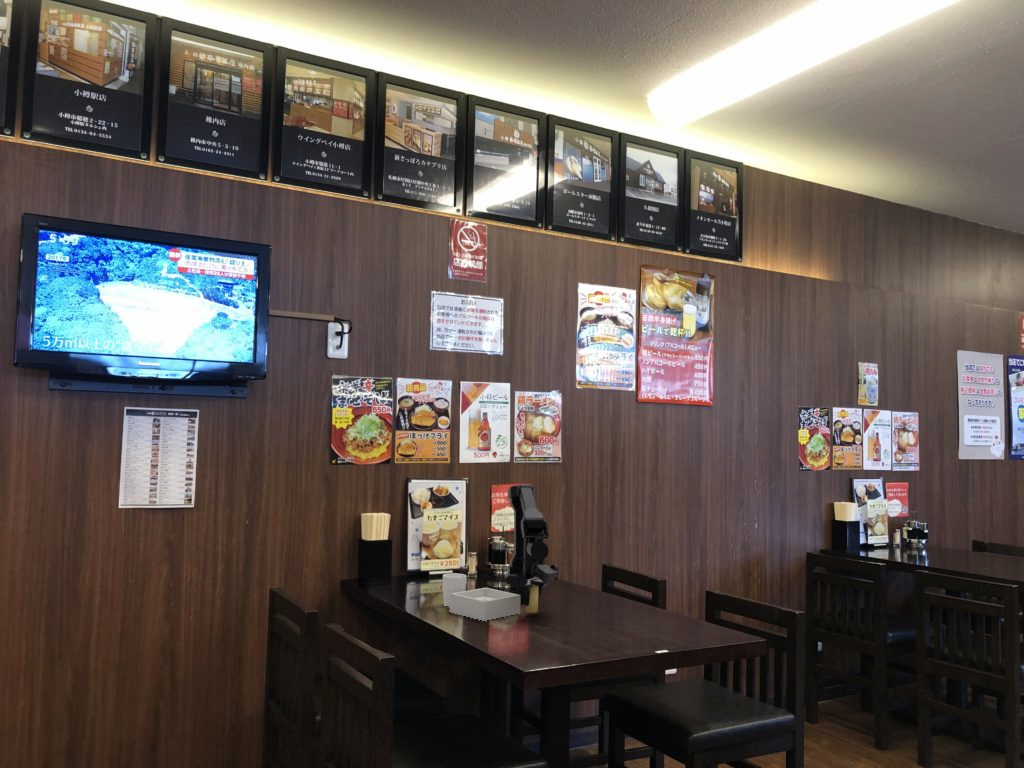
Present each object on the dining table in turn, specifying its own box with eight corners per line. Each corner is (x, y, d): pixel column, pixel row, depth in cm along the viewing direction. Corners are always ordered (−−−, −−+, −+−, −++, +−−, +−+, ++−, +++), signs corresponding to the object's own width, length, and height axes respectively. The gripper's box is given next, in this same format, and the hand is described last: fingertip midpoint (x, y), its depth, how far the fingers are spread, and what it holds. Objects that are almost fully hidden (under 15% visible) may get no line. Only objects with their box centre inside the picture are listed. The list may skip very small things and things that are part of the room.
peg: (531, 609, 258) (531, 584, 259) (540, 611, 256) (541, 586, 256) (522, 611, 255) (523, 585, 256) (531, 613, 253) (532, 587, 253)
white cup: (437, 606, 266) (438, 575, 267) (450, 602, 273) (450, 572, 274) (457, 609, 263) (458, 578, 263) (470, 605, 270) (470, 574, 270)
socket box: (485, 605, 269) (486, 587, 269) (520, 614, 258) (520, 595, 258) (449, 612, 257) (450, 593, 258) (484, 621, 246) (484, 601, 246)
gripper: (531, 561, 244) (530, 613, 243) (570, 555, 258) (570, 605, 257) (505, 556, 252) (504, 607, 251) (545, 551, 265) (544, 599, 264)
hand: (531, 604), depth 256 cm, fingers closed on peg, 4 cm apart
